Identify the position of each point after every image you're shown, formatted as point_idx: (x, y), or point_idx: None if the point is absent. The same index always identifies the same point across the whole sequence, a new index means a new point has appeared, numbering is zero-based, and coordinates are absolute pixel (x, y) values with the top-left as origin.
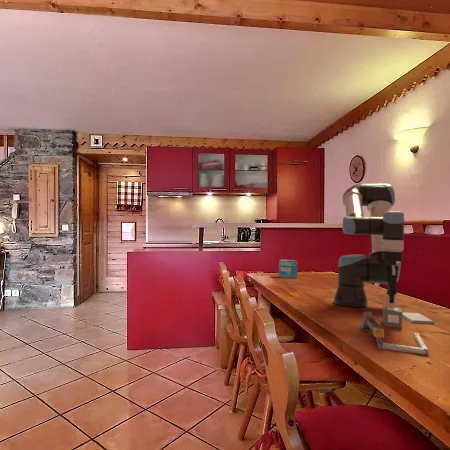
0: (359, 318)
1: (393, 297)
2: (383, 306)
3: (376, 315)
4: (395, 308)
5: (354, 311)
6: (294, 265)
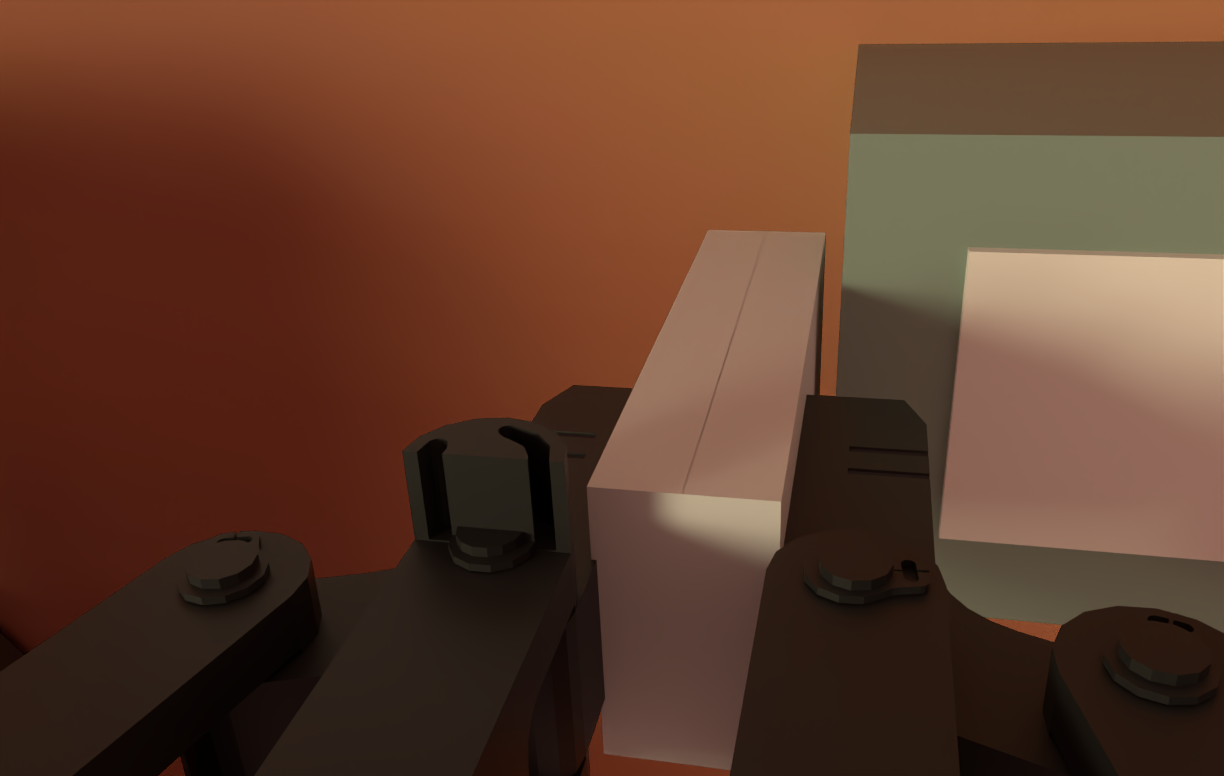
0: None
1: (932, 542)
2: None
3: None
4: (1114, 315)
5: None
6: None
